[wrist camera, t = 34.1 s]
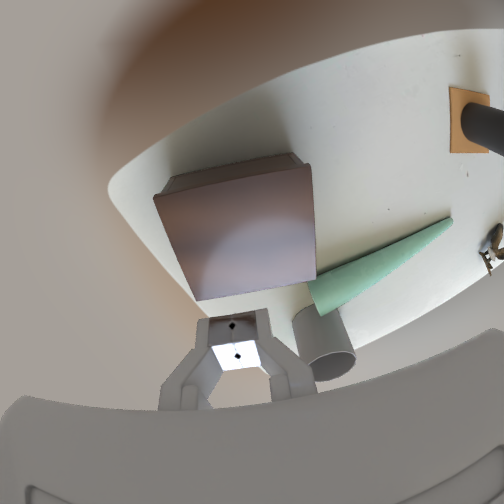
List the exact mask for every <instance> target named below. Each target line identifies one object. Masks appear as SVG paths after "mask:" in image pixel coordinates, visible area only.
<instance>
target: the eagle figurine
mask: <svg viewBox="0 0 504 504" xmlns="http://www.w3.org/2000/svg"><path fill="white" fill-rule="evenodd" d="M502 236H503V225H501V224H499V225H498V227H497V230H496V232H495V235H493V237H492V239H491V243H492V248H490V247H488V250H487V251H486V252H485V253H482V252H479V254H480V255H481V256H482V258H483V260H484V262H485V264H486V267H487V269H488V272H489V274H490V276H491V271H490V269H493V267H492V266H491V264H490V263H489V262H490V261H491V260H493V261H495V257H497V258H498V259H500V260H504V248H501V249H498V246H499V243H500V241H501V239H502ZM487 254H489V256H490V258H489V259H487V258H486V256H485V255H487Z"/></svg>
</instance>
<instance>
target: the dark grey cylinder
mask: <svg viewBox="0 0 504 504" xmlns="http://www.w3.org/2000/svg"><path fill="white" fill-rule="evenodd" d="M461 128H462V131H463V134H464V136H465V137H466V138H467V139H468V140H469V141H471V142H473V143H476V144H478V145H480V146H483V147H485V148H487V149H489V150H491V151H493V152H496V153H498V154H500V155H502V156H504V111H502V110H499V109H496V108H492V107H489V106H485V105H482V104H478V103H474V102H470V103H468V104H466V105H465V107H464V108H463V110H462V114H461Z"/></svg>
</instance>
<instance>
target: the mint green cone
mask: <svg viewBox="0 0 504 504" xmlns="http://www.w3.org/2000/svg"><path fill="white" fill-rule="evenodd" d="M452 224H453V219H452V218H447V219H445V220H443V221H441V222H438V223H436V224H434V225H432V226H430V227H428V228H426V229H424V230H422V231H420V232H418V233H415V234H413V235H411V236H409V237H407V238H405V239H403V240H401V241H398V242H396V243H394V244H392V245H390V246H387V247H385V248H383V249H381V250H379V251H376V252H374V253H372V254H369V255H367V256H365V257H362V258H360V259H358V260H355V261H353V262H350V263H348V264H345V265H343V266H340V267H338V268H335V269H333V270H331V271H328V272H326V273H324V274H321V275H319V276H316V280H312V281H308V287H309V290H310V293H311V296H312V298H313V301H314V303H315V306H316V308H317V310H318V312H319V314H320V316H321V317H322V316H324V315H325V314H327V313H329V312H331V311H333V310H334V309H336V308H338V307H340V306H342V305H343V304H345V303H347V302H348V301H350V300H351V299H353V298H354V297H356V296H357V295H359V294H360V293H362V292H363V291H365V290H366V289H368V288H369V287H371V286H372V285H374V284H375V283H377V282H378V281H380V280H381V279H382V278H384V277H385V276H387V275H388V274H390V273H391V272H392V271H394V270H395V269H396V268H398V267H399V266H401V265H402V264H403V263H405V262H406V261H407V260H409V259H410V258H411V257H413V256H414V255H415V254H417V253H418V252H419V251H421V250H422V249H423V248H424V247H426V246H427V245H428V244H430V243H431V242H432V241H433V240H435V239H436V238H437V237H438V236H439V235H441V234H442V233H443V232H444V231H445V230H447V229H448V228H449V227H450V226H451V225H452Z"/></svg>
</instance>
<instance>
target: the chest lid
mask: <svg viewBox="0 0 504 504" xmlns="http://www.w3.org/2000/svg"><path fill="white" fill-rule="evenodd" d="M153 200H154V203H155V206H156V208H157V211H158V213H159V216H160V218H161V221H162V223H163V226H164V228H165V231H166V233H167V236H168V238H169V241H170V243H171V245H172V248H173V250H174V252H175V255H176V257H177V259H178V262H179V264H180V266H181V269H182V271H183V273H184V275H185V277H186V280H187V282H188V284H189V286H190V289H191V291H192V293H193V295H194V297H195V299H196V301H202V300H208V299H214V298H220V297H226V296H232V295H238V294H243V293H249V292H254V291H260V290H265V289H271V288H276V287H281V286H286V285H292V284H297V283H302V282H307V281H312V280H316V241H315V218H314V201H313V186H312V173H311V165H310V164H309V163H306V164H299V165H292V166H286V167H280V168H274V169H268V170H263V171H257V172H252V173H247V174H241V175H236V176H231V177H227V178H222V179H217V180H213V181H208V182H204V183H199V184H195V185H191V186H186V187H182V188H178V189H174V190H170V191H166V192H163V193H159V194H155V195H154V197H153Z"/></svg>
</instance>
